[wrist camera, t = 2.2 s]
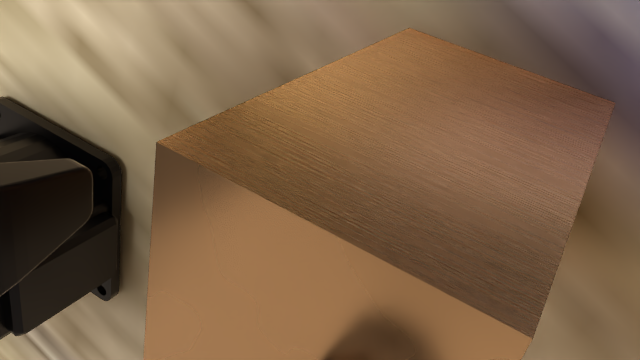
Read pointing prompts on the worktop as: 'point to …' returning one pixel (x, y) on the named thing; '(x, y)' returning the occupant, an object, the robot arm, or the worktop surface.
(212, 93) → the worktop surface
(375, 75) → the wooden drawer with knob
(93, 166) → the robot arm
